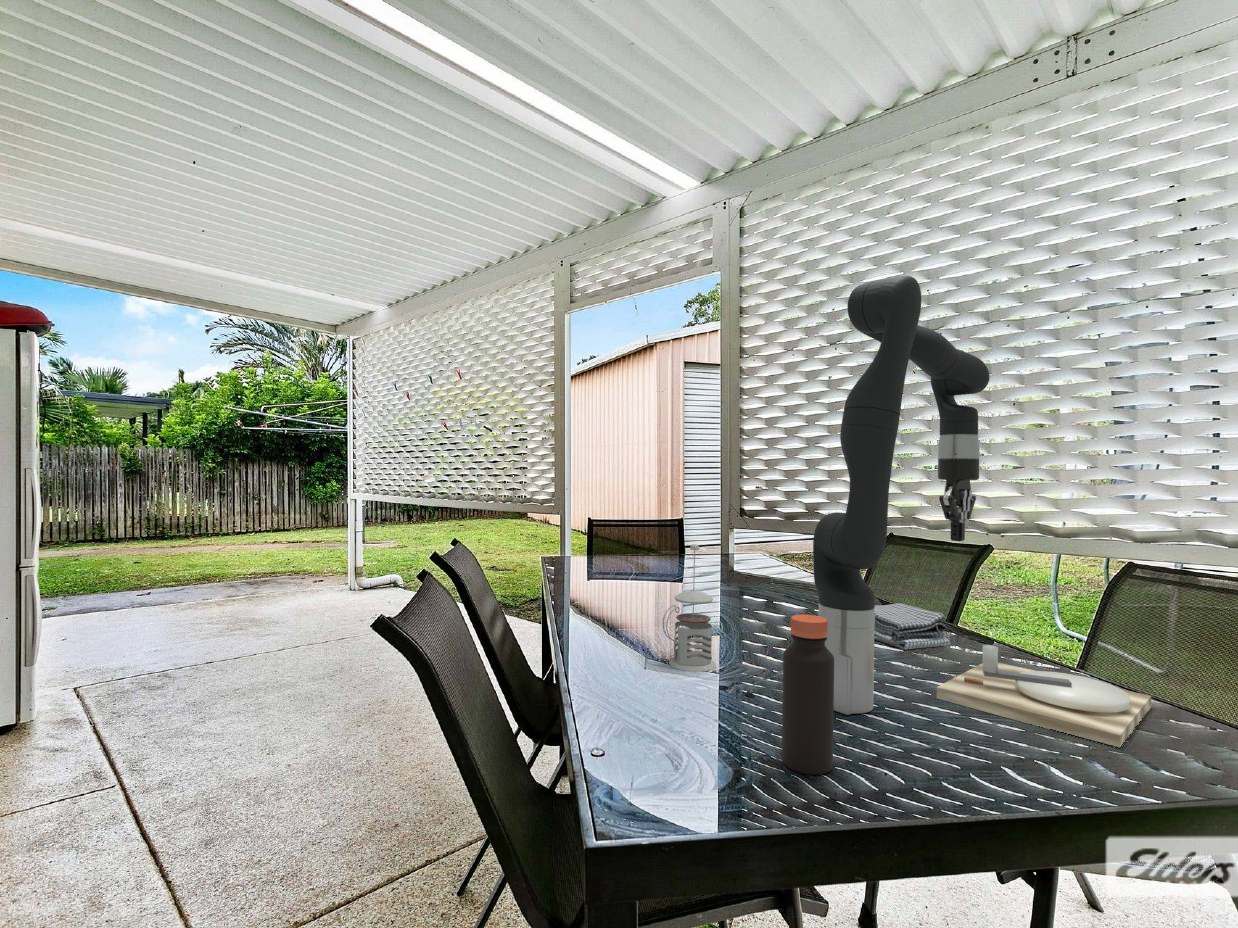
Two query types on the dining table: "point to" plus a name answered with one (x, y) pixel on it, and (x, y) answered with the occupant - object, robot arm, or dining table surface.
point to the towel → (909, 626)
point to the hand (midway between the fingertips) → (957, 540)
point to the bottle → (808, 698)
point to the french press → (692, 632)
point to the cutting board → (1041, 707)
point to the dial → (1060, 687)
